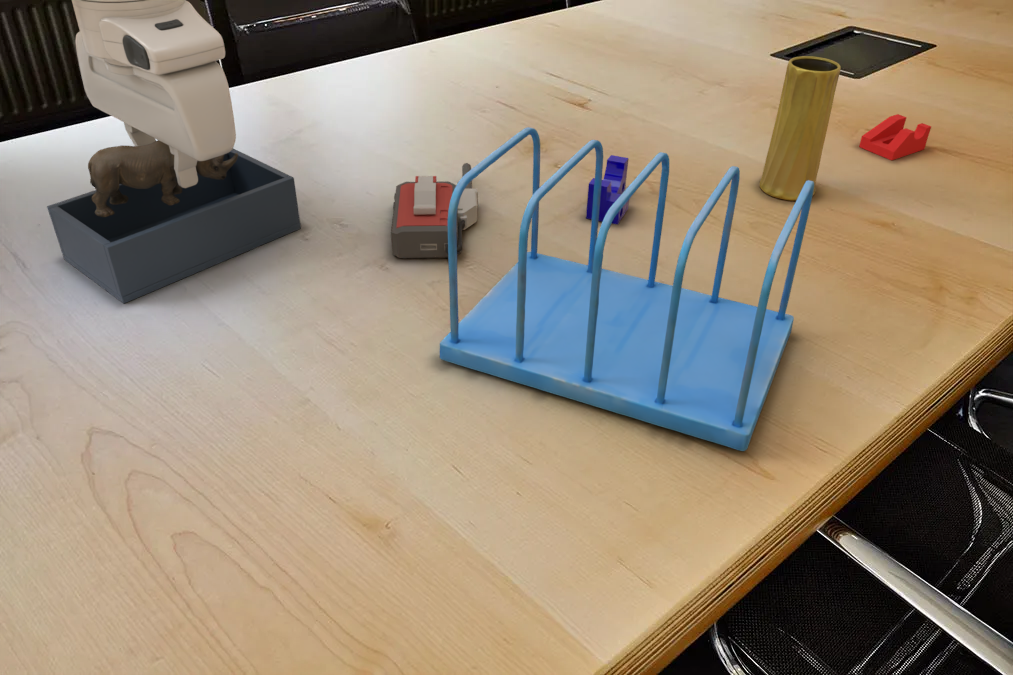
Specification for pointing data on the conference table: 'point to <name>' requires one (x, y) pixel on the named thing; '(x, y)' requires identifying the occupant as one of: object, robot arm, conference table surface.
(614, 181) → the cable holder
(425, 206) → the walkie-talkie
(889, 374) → the conference table surface
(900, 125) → the bracket
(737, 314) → the file sorter
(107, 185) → the rhino figurine
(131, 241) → the bin
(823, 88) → the vase
